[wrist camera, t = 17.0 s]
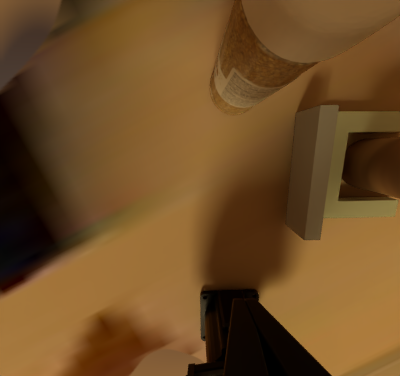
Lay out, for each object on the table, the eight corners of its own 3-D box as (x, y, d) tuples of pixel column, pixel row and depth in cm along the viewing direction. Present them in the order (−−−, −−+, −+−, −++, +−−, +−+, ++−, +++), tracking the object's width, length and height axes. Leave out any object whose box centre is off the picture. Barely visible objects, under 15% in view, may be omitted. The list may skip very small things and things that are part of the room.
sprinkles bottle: (221, 51, 16) (337, -345, 3) (268, 75, 17) (536, -180, 4) (200, 104, 17) (222, -32, 4) (245, 124, 18) (397, 65, 4)
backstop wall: (298, 223, 20) (320, 239, 17) (285, 223, 20) (304, 240, 16) (310, 112, 18) (339, 105, 14) (296, 113, 18) (320, 105, 14)
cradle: (383, 212, 20) (394, 216, 19) (307, 214, 20) (315, 218, 18) (404, 113, 18) (419, 111, 17) (320, 113, 17) (329, 111, 16)
